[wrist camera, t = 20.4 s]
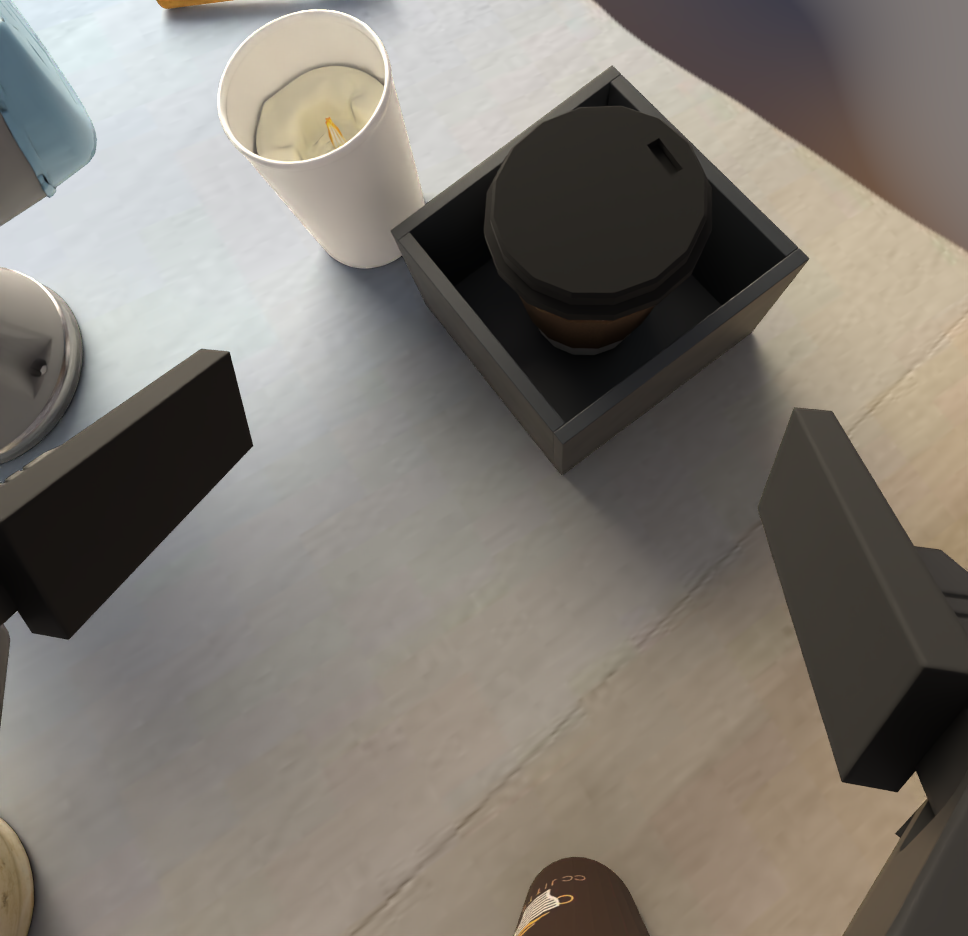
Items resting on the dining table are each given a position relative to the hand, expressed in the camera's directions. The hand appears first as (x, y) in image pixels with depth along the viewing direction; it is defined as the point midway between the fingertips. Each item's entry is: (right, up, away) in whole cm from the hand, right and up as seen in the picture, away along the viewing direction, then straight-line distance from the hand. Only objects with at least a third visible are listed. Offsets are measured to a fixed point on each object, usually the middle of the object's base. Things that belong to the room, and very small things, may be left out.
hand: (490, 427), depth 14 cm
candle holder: (-9, +17, +29) cm, 35 cm away
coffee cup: (+7, +9, +25) cm, 27 cm away
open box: (+6, +9, +26) cm, 28 cm away
